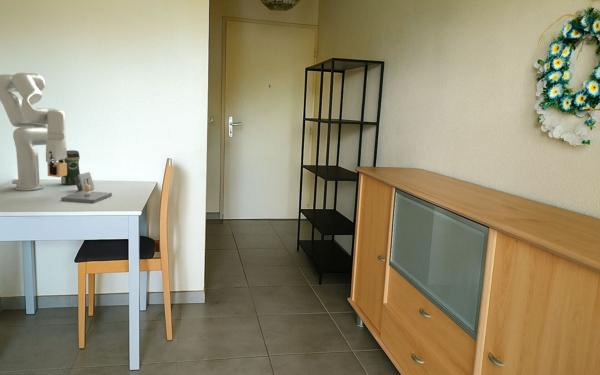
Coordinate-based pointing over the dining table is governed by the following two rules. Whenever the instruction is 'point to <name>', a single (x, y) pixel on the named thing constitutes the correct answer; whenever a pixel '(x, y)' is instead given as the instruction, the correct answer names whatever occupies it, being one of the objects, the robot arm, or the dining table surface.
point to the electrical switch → (84, 181)
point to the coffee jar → (71, 168)
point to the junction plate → (86, 196)
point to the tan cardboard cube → (59, 169)
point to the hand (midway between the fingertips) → (57, 173)
